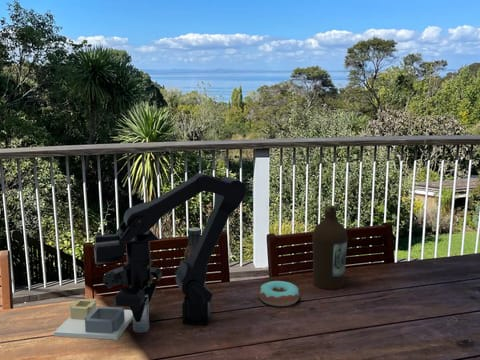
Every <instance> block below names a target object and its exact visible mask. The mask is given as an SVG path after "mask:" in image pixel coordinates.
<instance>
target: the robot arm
mask: <svg viewBox="0 0 480 360" xmlns="http://www.w3.org/2000/svg"><path fill="white" fill-rule="evenodd" d="M204 191H205V192H209V193H212V194H214V201H213V209H211V210H212V211H211V213H210V215H209V217H208V219H207V222H206V223H205V226H204V229H203V230H202V231H201V237H200V239H199V241H198V243H197V245H196V248H195V250H194V252H193V254H192V256H191V257H190V258H189V259H188V260H187V261H184V259H181V260H180V261H179V266H178V268H177V270H175V272H174V274H175V282H176V285H177V286H178V288H179V289H180V290H181V292H182V294H184V296H185V297H184V299H183V301H182V303H181V306H182V311H181V312H182V313H181V314H182V318H183V319H182V324H186V325H188V324H190V325H205V326H206V325H208V324H209V321H210V319H211V316H212V311H211V300H212V297H213V293H212V292H211V290H210V289H209V288H208V287H207V285H206V280H207V273H208V272H207V271H208V264H209V261H210V260H211V257H212V256H213V253H214V251H215V248H216V246H217V244H218V242H219V240H220V239H221V238H220V237H221V235H222V233H223V230H224V229H225V226H226V224H227V222H228V220H229V218H230V216H231V214H232V213H234V211H235V210H237V209H238V208H239V207H240V205H241V203H242V202H243V200H244V199H245V197H246V196H247V195H246V194H247V192H248V191H247V188H246V185H245V184H244V183H243V182H242V181H241V180H238V179H237V178H234V177H231V176H225V177H223V178H220V177H217V176H213V175H208V174H205V173H203V172H198V173H195V174H194V175H193V176H192V177H190V178H188V179H186V180H185V181H184V182H182V183H180V184H179V185H177V186H175V187H174V188H172V189H170V190H168V191H167V192H165V193H163V194H161V195H160V196H158V197H157V198H155V199H152V200H148V201H144V202H141V203H139V204H136V205H134V206H131V207H128V209H126V211H124V215H123V220H122V222H121V224H120V225H119V227H118V228H117V229H116V233H113V234H112V233H111V234H96V235H94V246H93V251H94V262H95V265H101V264H107V263H109V264H110V263H116V262H117V263H118V262H121V260H123V257H125V255H126V263H125V264H124V265H123V266H120V267H118V268H114V269H112V270H110V271H108V272H106V273H105V274H104V275H103V277H102V280H103V281H102V284H103V285H105V287H107V289H111V288H113V287H115V286H118V285H121V284H122V289H120V290H119V292H118V293H117V294H116V295H115V296H114V298H113V299H114V306H115V307H127V308H128V307H129V308H130V310H131V311H132V313H133V316H134V318H135V321H136V322H140V321H141V318H142V315H143V312H144V309H145V306H146V303H147V300H148V304H149V305H151V302H152V298H153V297H154V294H155V291H156V289H157V287H158V283H154V282H153V280H154V279H155V280H156V282H160V281H161V279H162V278H163V277H162V276H163V275H162V269H160V268H159V267H154V266H153V267H152V265H153V264H154V259H152V258H151V242H152V241H158V240H159V237H158V236H157V235H156V233H154V232H153V231H152V230H151V229H152V228H153V227H154V226H155V225H156V224H158V222H159V221H160V219H162V217H164V216H165V215H166V214H168V213H169V212H171V211H172V210H174V209H175V208H178V207H179V206H181V205H182V204H184V203H185V202H188V201H189V200H191V199H192V198H194V197H195V196H197V195H199V194H201V193H202V192H204ZM125 246H126V247H125ZM125 248H126V249H125ZM125 251H126V254H125ZM126 287H127V288H126ZM145 293H147V294H148V297H145Z"/></svg>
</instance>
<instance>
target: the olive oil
mask: <svg viewBox="0 0 480 360" xmlns="http://www.w3.org/2000/svg"><path fill="white" fill-rule="evenodd" d="M311 238H312V239H311V240H312V241H311V242H312V282H313V285H314V286H315V287H317V288H319V289H322V290H332V291H333V290H337V289H341V288H343V287H344V282H345V281H344V280H345V273H346V268H347V267H346V259H347V249H348V247H347V246H348V232H347V230H346V228H345V227H344V226H343V224H341V222H340V221H339V220H338V219H337V206H336V205H332V204H331V205H330V204H329V205H326V206H325V210H324V218H323V219H322V220H321V221H319V223H318V224H317V225H316V226H315V228H314V230H313V232H312V236H311Z"/></svg>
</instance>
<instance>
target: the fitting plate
mask: <svg viewBox="0 0 480 360" xmlns="http://www.w3.org/2000/svg"><path fill="white" fill-rule="evenodd" d="M124 308H125V307H121V306H115V307H114V306H102V305H101V306H100V305H99V306H97V299H87V298H86V299H85V298H80V299H78V300H75V301H74V302H73V303H72V304H71V305H70V306H69V309H70V316H69V317H68V318H67V319H66V320H65V321H64V322H63V323H62V324H61V325H60V326H59V327H57V329H55V331H53V332H54V333H53V334H54V337H65V338H83V339H98V340H114V341H118V339H120V337H121V336H122V334H123V333H124V331H125V330H126V329H127V327H128V326H129V325H130V323H131V322H133V313H132V311H131V309H124Z"/></svg>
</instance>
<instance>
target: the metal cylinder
mask: <svg viewBox="0 0 480 360" xmlns="http://www.w3.org/2000/svg"><path fill="white" fill-rule="evenodd" d="M145 297H148V294H147V293H145ZM149 307H150V304H148V300H147V303H146V306H145V309H144V312H143V315H142V318H141V321H140V322H136V321H135V318H134V316H133V319H132V329H133V332H134V333H138V334H140V333H141V334H142V333H146V332H148V331H149V330H150V312H149V311H150V310H149Z"/></svg>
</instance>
